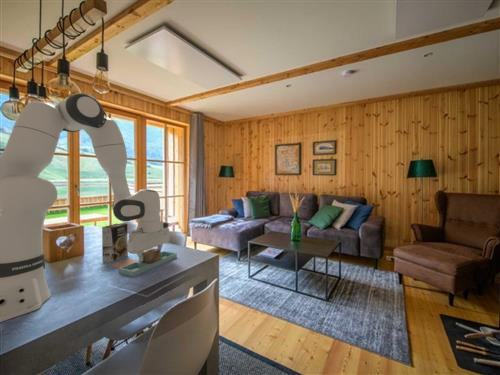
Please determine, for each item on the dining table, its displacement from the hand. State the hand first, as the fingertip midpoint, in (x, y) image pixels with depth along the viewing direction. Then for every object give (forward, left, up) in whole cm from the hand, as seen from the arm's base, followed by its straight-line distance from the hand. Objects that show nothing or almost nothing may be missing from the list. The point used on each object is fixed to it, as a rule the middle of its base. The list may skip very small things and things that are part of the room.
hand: (150, 257), depth 103 cm
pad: (-4, +9, -3) cm, 10 cm away
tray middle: (0, 0, -3) cm, 3 cm away
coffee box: (-1, +21, -4) cm, 21 cm away
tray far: (+8, 0, -3) cm, 9 cm away
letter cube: (0, 0, -3) cm, 3 cm away
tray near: (-8, 0, -3) cm, 9 cm away
